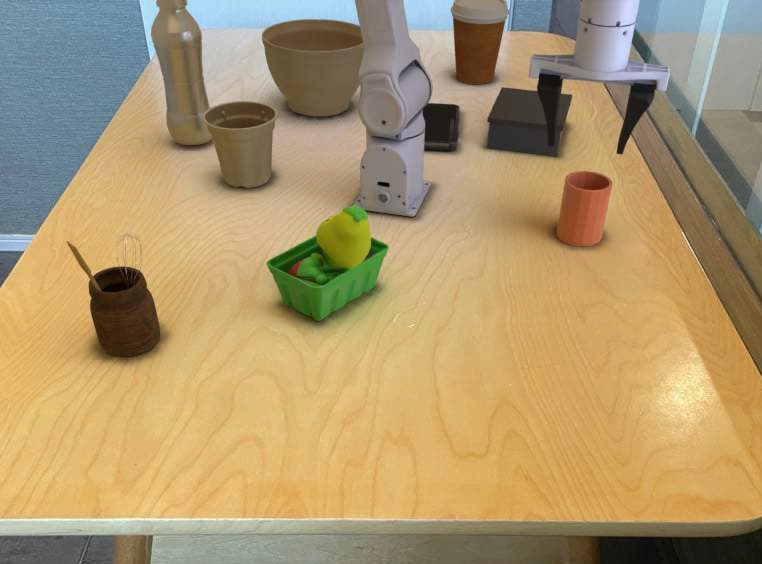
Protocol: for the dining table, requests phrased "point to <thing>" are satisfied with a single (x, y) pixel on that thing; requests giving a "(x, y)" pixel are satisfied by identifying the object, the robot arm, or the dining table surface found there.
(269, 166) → the flower pot
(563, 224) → the cup
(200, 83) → the plastic bottle
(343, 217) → the fruit basket
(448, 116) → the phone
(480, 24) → the disposable coffee cup
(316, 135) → the dining table surface
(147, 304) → the utensil holder
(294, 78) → the planter bowl
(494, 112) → the container
